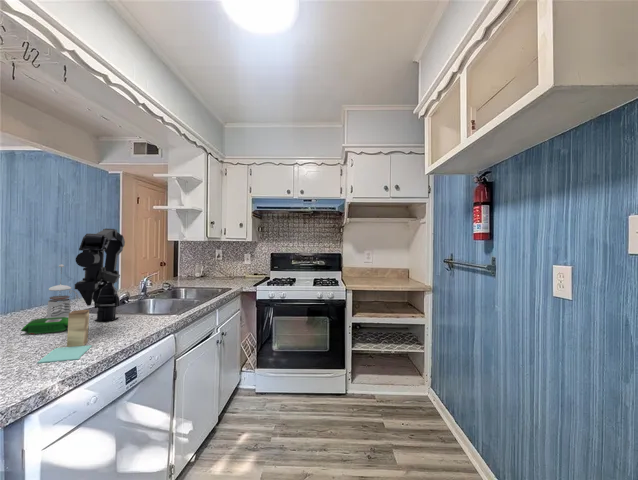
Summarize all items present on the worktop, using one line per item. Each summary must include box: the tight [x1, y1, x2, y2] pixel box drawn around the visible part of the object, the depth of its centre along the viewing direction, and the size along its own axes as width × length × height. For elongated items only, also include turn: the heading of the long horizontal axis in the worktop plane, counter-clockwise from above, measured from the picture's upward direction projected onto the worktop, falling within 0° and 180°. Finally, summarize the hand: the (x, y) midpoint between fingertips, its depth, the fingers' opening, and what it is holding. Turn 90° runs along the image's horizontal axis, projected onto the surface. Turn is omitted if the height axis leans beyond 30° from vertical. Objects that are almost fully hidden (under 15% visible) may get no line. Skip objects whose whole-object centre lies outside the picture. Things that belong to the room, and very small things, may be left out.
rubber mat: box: [36, 344, 93, 364], centre depth 93 cm, size 12×10×1 cm
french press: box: [45, 264, 79, 318], centre depth 133 cm, size 10×12×25 cm
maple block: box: [66, 309, 90, 347], centre depth 101 cm, size 4×4×12 cm
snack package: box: [20, 317, 68, 335], centre depth 114 cm, size 7×16×5 cm, turn 115°
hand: (92, 303), depth 113 cm, fingers open, 7 cm apart
